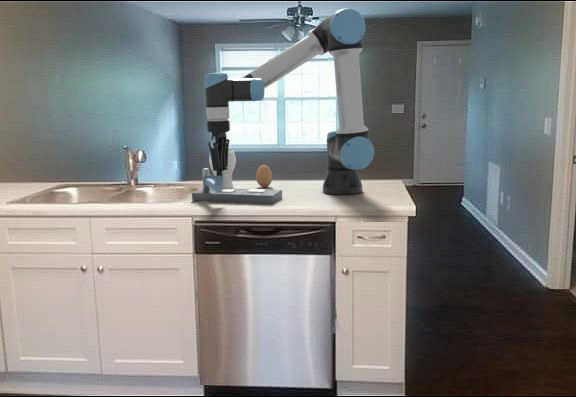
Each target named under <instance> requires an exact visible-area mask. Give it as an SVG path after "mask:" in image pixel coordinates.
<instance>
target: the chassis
mask: <svg viewBox="0 0 576 397" xmlns="http://www.w3.org/2000/svg"><path fill="white" fill-rule="evenodd" d="M201 174H202V175H201V176H202V178H203V175H210V169H209V168H207V167H205V168H202V169H201ZM281 198H282V199H283V190H282V189H266V188H265V189H262V188H236V187H235V188H234V187H233V188H226V189H225V190H222V192H216V191H214V190H213V189H212V188H210V187H209V186H207V187H204V182H203V181H202V188H200V189H199V190H196V191H193V192H191V200H192V202H198V201H208V202H207V203H226V204H228V203H229V204H250V205H251V204H256V205H257V204H258V205H259V204H260V205H273V203H274V204H275V203H277V202H279V199H280V200H282V199H281ZM276 201H277V202H276Z"/></svg>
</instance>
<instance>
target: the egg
mask: <svg viewBox="0 0 576 397" xmlns="http://www.w3.org/2000/svg"><path fill="white" fill-rule="evenodd" d="M255 179H256V182H257V185H259V186H260V187H262V188H267V187H269V186H270V185H271V183H272V181H273V172H272V170H271V168H270V167H269V166H268V165H266V164H262V165H259V167H258V168H257V171H256V175H255Z"/></svg>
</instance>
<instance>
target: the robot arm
mask: <svg viewBox="0 0 576 397" xmlns="http://www.w3.org/2000/svg"><path fill="white" fill-rule="evenodd" d="M366 27H367V26H366V22H365V19H364V17H363V15H362V14H361V13H360V11H357V10H355V9H353V8H349V7H348V8H341V9H337V10H336V11H334V12H333V13H332V14H329V15H328V16H327V17H325V19H323V20H322V21H321V22H320V23H319V24H318V25H316V26H315V27H314V28H312V29H311V30H309V31H307V36H305V37H304V38H302V39H300V40H299V41H297V42H296V43H294V44H292V45H291V46H290V47H288V48H287V49H285V50H283V51H281V52H280V53H279V54H277V55H276V56H274V57H272V58H271V59H270V60H267V61H266V62H264V63H263V64H262V65H260V66H258V67H257V68H255V69H253V70H252V71H250V72H249V73H248V74H246V75H244V76H242V77H241V78H229V77H228V73H227V72H209V73H207V74H205V76H204V91H205V106H206V109H205V113H206V118H207V122H206V127H207V130H206V132H208V133H211V136H210V137H211V142H208V143H207V145H208V148H209V154H210V153H211V160H212V166H213V171H216V176H222V190H225V189H226V180H225V170H228V168H226V167H228V151H230V150H229V145H230V139H229V138H227V133H228V132H230V131H231V124H230V122H231V121H229V119H230V105H229V102H232V103H233V102H257V101H258V102H261V101H263V100H264V99H265V89H266V88H268V87H269V86H271V85H273V84H274V83H276V82H277V81H279V80H281V79H282V78H284V77H285V76H287V75H288V74H290V73H292V72H293V71H294V70H297V68H299V67H301V66H302V65H304V64H306V63H307V62H309V61H310V60H312V59H314V58H315V57H317V56H318V55H319V56H324V55H325V54H327V53H329V54H330V55H331V57H332V58H333V66H334V78H335V79H334V80H335V92H336V104H337V115H338V116H337V117H338V128H337V130H333V131H328V133H327V135H326V167H327V168H326V173H325V174H326V175H325V178H324V180H323V184H322V192H323V193H325V194H329V195H337V196H338V195H339V196H340V195H341V196H344V195H356V194H361V193H362V192H363V183H362V181H361V178H360V174H359V170H363V169H366V167H368V166H370V164H371V162H372V161H373V159H374V156H375V149H374V145H373V142H372V141H371V140H370V133H369V128H368V127H367V126H365V124H364V107H363V96H362V95H363V94H362V82H361V80H362V79H361V68H360V67H361V66H360V54H361V52H362V51H363V48H364V46H363V44H364V43H363V37H364V36H365V33H366Z"/></svg>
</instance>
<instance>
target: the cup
mask: <svg viewBox="0 0 576 397" xmlns="http://www.w3.org/2000/svg"><path fill="white" fill-rule="evenodd" d="M208 157H209V158H208V164H209V167H210V170H211V172H212V173H213V177H214V176H216V171H213V166H212V160H211V153H210V152H209V156H208ZM236 163H237V158H236V153H235V151H234V150H228V167H226V168H228V170H225V180H226V188H234V184H233V181H232V180H233V172H234V171H235V168H236Z"/></svg>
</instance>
